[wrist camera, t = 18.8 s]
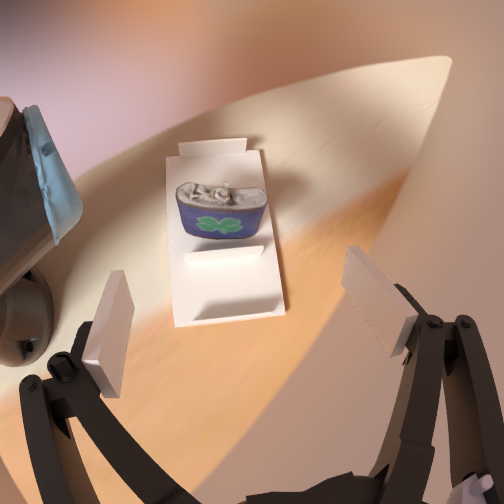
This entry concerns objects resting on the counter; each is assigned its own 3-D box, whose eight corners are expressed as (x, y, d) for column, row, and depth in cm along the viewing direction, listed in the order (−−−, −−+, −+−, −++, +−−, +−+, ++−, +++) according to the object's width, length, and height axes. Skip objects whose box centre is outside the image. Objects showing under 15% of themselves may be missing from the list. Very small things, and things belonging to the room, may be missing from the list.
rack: (176, 327, 34) (170, 326, 30) (166, 161, 40) (162, 144, 36) (283, 315, 36) (291, 312, 32) (257, 154, 42) (261, 137, 38)
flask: (257, 220, 38) (272, 178, 27) (257, 242, 37) (272, 207, 27) (184, 215, 37) (173, 172, 27) (181, 237, 36) (168, 200, 26)
